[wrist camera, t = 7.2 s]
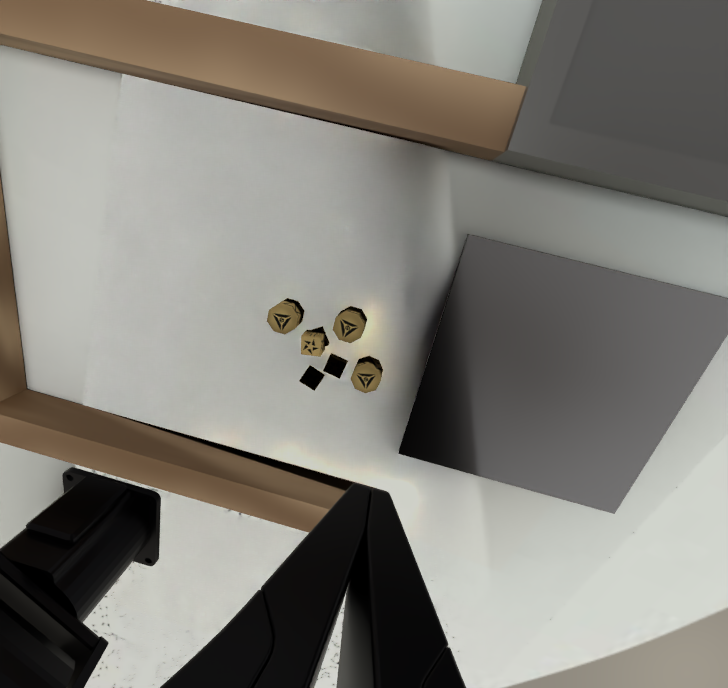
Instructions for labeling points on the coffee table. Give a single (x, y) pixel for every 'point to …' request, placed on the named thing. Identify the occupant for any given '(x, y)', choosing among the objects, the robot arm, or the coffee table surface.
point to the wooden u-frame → (258, 87)
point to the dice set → (314, 342)
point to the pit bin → (628, 98)
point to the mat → (558, 372)
